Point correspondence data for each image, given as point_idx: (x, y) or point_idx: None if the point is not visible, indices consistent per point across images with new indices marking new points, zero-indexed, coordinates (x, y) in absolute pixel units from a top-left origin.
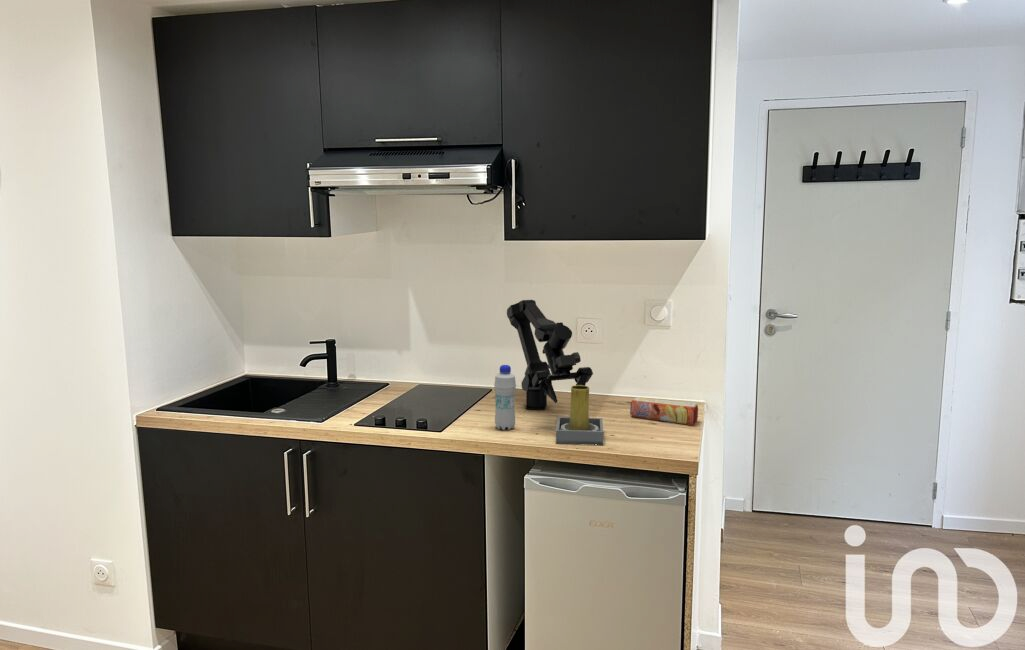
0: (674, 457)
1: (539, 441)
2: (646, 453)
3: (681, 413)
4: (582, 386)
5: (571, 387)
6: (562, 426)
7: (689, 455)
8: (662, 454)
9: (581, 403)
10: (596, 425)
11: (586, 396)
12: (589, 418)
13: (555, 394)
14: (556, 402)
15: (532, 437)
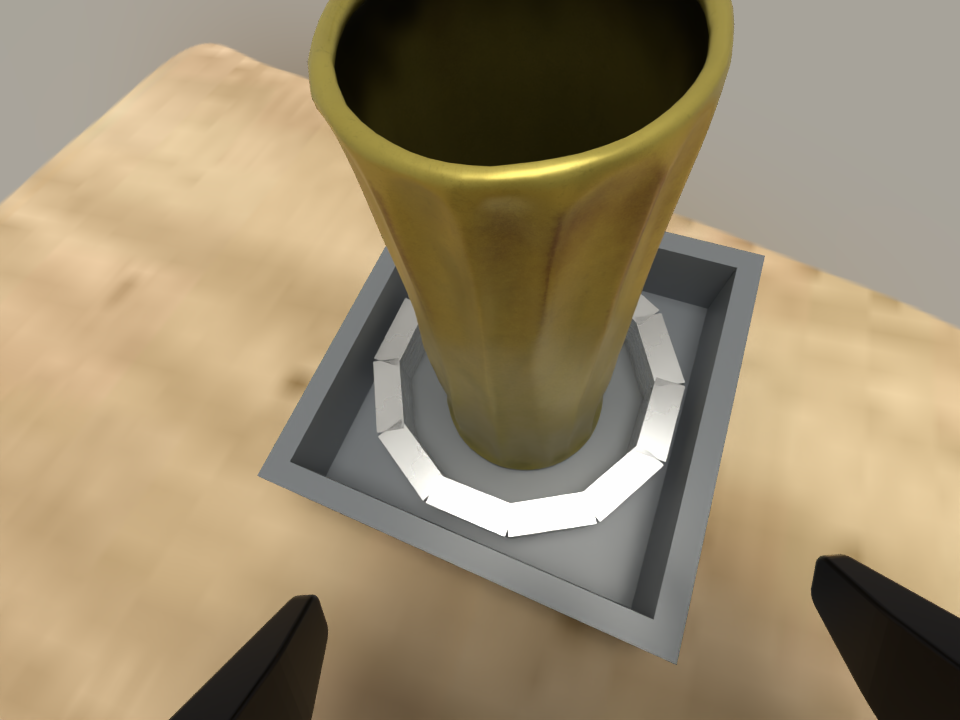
0: (226, 66)
1: (838, 378)
2: (301, 113)
3: None
4: (388, 163)
5: (732, 46)
6: (662, 428)
7: (156, 75)
8: (246, 96)
9: (537, 145)
10: (337, 481)
11: (449, 85)
12: (369, 498)
13: (947, 654)
14: (817, 578)
15: (895, 481)
